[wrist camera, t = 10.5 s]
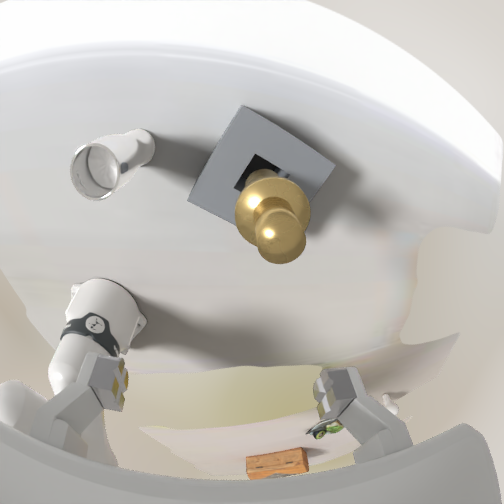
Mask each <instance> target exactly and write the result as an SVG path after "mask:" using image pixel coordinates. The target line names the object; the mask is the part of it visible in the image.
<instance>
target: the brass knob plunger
mask: <svg viewBox="0 0 504 504" xmlns="http://www.w3.org/2000/svg"><path fill="white" fill-rule="evenodd" d="M309 220H310V205H309V201H308V199H307V197H306V195H305V194H304V192H303V191H302V190H301V188H300V187H299V186H298V185H297V184H295V183H294V182H293V181H291V180H289V179H287V178H284V177H279V175H278V174H277V173H275V172H274V171H272V170H269V169H259V170H256V171H254V172H253V173H251V174H250V175H249V177H248V178H247V180H246V183H245V188H244V189H243V190H242V192H241V193H240V195H239V197H238V199H237V201H236V205H235V222H236V226H237V228H238V230H239V232H240V234H241V235H242V236H243V237H244V238H245V240H247V241H248V242H249V243H251V244H253V245H255V246H257V247H258V250H259V253H260V254H261V256H262V257H263V258H264V259H265V260H267V261H269V262H271V263H275V264H284V263H289V262H291V261H293V260H295V259H296V258H298V257H299V256H300V255H301V253H302V252H303V250H304V248H305V245H306V236H305V233H304V231H305V230H306V228H307V226H308V223H309Z"/></svg>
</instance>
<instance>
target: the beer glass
mask: <svg viewBox="0 0 504 504" xmlns="http://www.w3.org/2000/svg"><path fill="white" fill-rule="evenodd" d="M154 152H155V141H154V139H153V137H152V136H151V134H150V133H149V132H147V131H145V130H143V129H133V130H130V131H128V132H127V133H126V134H110V135H106V136H102V137H100V138H98V139H95V140H93V141H92V142H90V143H88V144H86V145H84V146H82V147H81V148H80V149H79V150H78V151H77V152H76V153H75V155H74V157H73V159H72V162H71V166H70V175H71V180H72V183H73V185H74V187H75V188H76V190H77V191H78V192H79V193H80V194H81V195H82V196H83V197H85V198H87V199H89V200H94V201H99V200H103V199H106V198H108V197H109V196H110V195H112V194H113V193H115V192H116V191H118V190H119V189H121V188H122V187H123V186H124V185H126V184H127V183H128V182H129V181H130V180H131V179H132V177H133V176H134V175H135V173H136V172H137V170H138V168H139V166H143V165H145V164H146V163H148V162H149V161H150V160H151V159H152V157H153V155H154Z"/></svg>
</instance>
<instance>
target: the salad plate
mask: <svg viewBox="0 0 504 504" xmlns="http://www.w3.org/2000/svg"><path fill="white" fill-rule="evenodd" d="M343 428H344V426H343V424H340V423H339V422H338V419H337V418H331V419H328V420H325V421H322V422H320V423H318V424H317V425H316V426H314V427H313V428H312V429H311V430H309V431H308V432H307V433H306V434H310V435H313V436H314V438H315V439H320V438H322V437H323V436H324V435H325V434H332V433H336V432H339V431H340V430H342V429H343Z"/></svg>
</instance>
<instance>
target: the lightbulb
mask: <svg viewBox="0 0 504 504" xmlns="http://www.w3.org/2000/svg"><path fill="white" fill-rule="evenodd" d="M382 398H383V403H384V407H385V408H386V409H388V410H389V411H390V412H391V413H393V414H394V415H395V416H396V415H397V414H398V411H399V407H398V406H397V404H395V403H394V402H393V401H392V400H391V398H390V397H389V395H388V394H384V395H383V396H382Z"/></svg>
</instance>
